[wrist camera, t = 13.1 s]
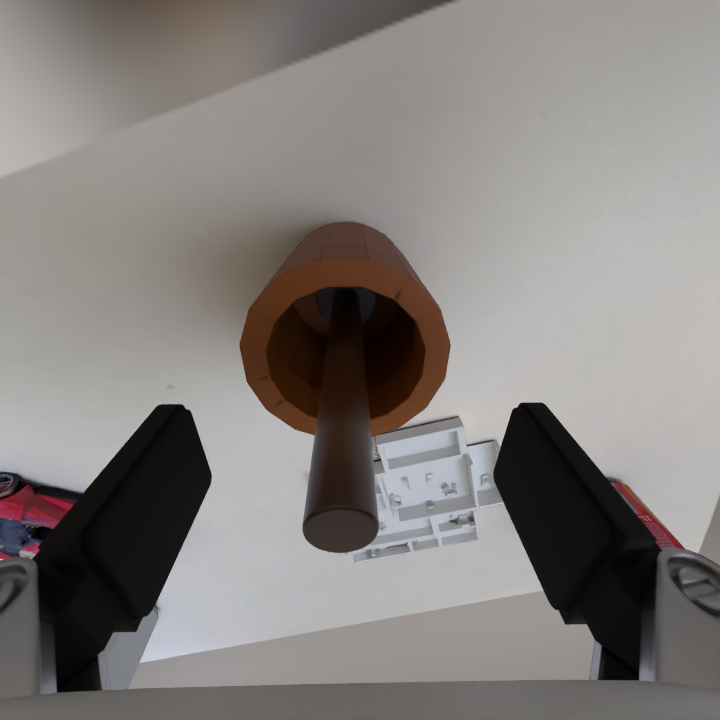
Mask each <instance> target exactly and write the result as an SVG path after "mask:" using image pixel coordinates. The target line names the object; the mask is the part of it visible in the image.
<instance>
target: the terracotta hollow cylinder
mask: <svg viewBox="0 0 720 720" xmlns="http://www.w3.org/2000/svg"><path fill="white" fill-rule="evenodd" d="M326 287H364V288H366V289H369V290H371V291H374V292H375V293H376V307H375V310H374V312H373V314H372V316H371V317H370V318H369V320H368V321H366V322H365V323H364V324H362V331H363V343H364V355H365V366H366V378H367V390H368V402H369V414H370V426H371V437H373V436H376V435H379V434H382V433H385V432H388V431H392V430H395V429H397V427H398V428H399V427H401V426H402V425H403V424H405V423H406V422H408V421H409V420H410V419H412V418H413V417H414V416H416V415H417V414H419V413H420V412H421V411H423V410H424V409H425V408H426V407H427V406H428V404H429V403H430V401H431V400H432V398H433V397H434V395H435V394H436V392H437V391H438V389H439V388H440V386H441V384H442V383H443V381H444V379H445V376H446V370H447V364H448V358H449V352H450V346H451V345H450V340H449V337H448V333H447V330H446V326H445V323H444V320H443V316H442V313H441V310H440V308H439V306H438V304H437V303H436V301H435V300H434V299H433V297H432V296H431V294H430V293H429V291H428V290H427V288H426V287H425V286H424V284H423V283H422V281H421V280H420V278H419V277H418V275H417V274H416V273H415V271H414V270H413V268H412V267H411V265H410V264H409V262H408V261H407V260H406V258H405V257H404V255H403V254H402V253H401V252H400V250H399V249H398V248H397V247H396V246H395V245H394V243H393V242H392V241H391V240H390V239H389V238H388V237H387V236H386V235H385V234H383V233H381V232H379V231H377V230H376V229H374V228H372V227H369V226H366V225H363V224H360V223H350V222H343V223H333V224H330V225H327V226H324V227H322V228H320V229H318V230H316V231H314V232H312V233H310V234H309V235H307V236H306V237H305V238H304V240H303V241H302V242H301V243H300V244H299V245H298V246H297V248H296V249H295V250H294V251H293V252H292V253H291V255H290V256H289V257H288V258H287V260H286V261H285V262H284V264H283V265H282V266H281V268H280V269H279V270H278V271H277V273H276V274H275V275H274V277H273V278H272V279H271V281H270V282H269V283H268V284H267V286H266V287H265V288H264V290H263V291H262V292H261V294H260V295H259V296H258V298H257V299H256V300H255V301H254V303H253V304H252V305H251V307H250V309H249V311H248V314H247V318H246V322H245V326H244V329H243V333H242V337H241V341H240V350H241V355H242V360H243V365H244V370H245V375H246V380H247V383H248V384H249V386H250V387H251V389H252V390H253V391H254V393H255V394H256V396H257V397H258V399H259V400H260V401H261V403H262V404H263V406H264V407H265V408H266V410H268V411H269V412H270V413H272V414H273V415H275V416H276V417H278V418H279V419H281V420H282V421H283V422H285V423H286V424H288V425H289V426H291V427H292V428H294V429H295V430H296V429H297V430H298V431H302V432H305V433H309V434H312V435H315V430H316V423H317V415H318V408H319V401H320V393H321V386H322V378H323V371H324V364H325V356H326V349H327V341H328V334H329V327H330V323H328V322H327V321H326V320H325V319H324V318H323V317H322V316H321V314H320V312H319V310H318V307H317V293H318V291H319V290H321V289H323V288H326Z"/></svg>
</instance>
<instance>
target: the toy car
mask: <svg viewBox="0 0 720 720" xmlns="http://www.w3.org/2000/svg"><path fill="white" fill-rule="evenodd" d="M18 481H23V479H22V478H20V477H19V476H18V475H15V474H9V473H0V559H8V558H12V557H17V556H20V557H29V558H30V559H33V557H34V556H35V555H36V554H37V553H38V551H39V548H38V546H39V545H40V544H41V543H42V542H43V540H44V539H45V538H46V537H47V536H48V534H49V533H50V532H51V531H52V530H53V529H54V527H55V526H56V525H57V524H58V523H59V521H60V520H61V519H62V518H63V517H64V516H65V514H66V513H67V512H68V511H69V510H70V508H71V507H72V506H73V505H74V504H75V503H76V501H77V500H78V499H79V498H80V497H81V495H80V494H77V493H73V492H69V491H65V490H61V489H57V488H51V487H45V486H41V487H39V486H37V485H36V484H35V485H33V486H32V487H31V486H29V485H26V486H25V487H24V488H22V489H21V490H20V491H19V492H17V493H15V494H14V493H13V490H14V489H15V487H16V486H17V483H18ZM34 488H38V489H40V490H38V491H37V493H34V490H33V489H34ZM26 524H34V525H40V526H41V527H38V528H36V527H34V528H32V527H30V526H28V527H27V528H26Z"/></svg>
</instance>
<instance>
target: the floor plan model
mask: <svg viewBox="0 0 720 720" xmlns="http://www.w3.org/2000/svg"><path fill="white" fill-rule="evenodd" d="M482 441H483V440H482ZM376 445H377V448H378V451H379V454H380V457H381V460H382V461H377V462H374V473H375V485H376V497H377V509H378V521H379V531H378V534H377V536H376V538H375V540H374V541H373V542H372V543H371V544H369V545H368V546H366V547H364V548H362V549H360V550H356V551H352V552H347V553H348V555H349V557H350V559H351V561H352V563H353V564H355V563H361V562H366V561H372V560H378V559H384V558H389V557H395V556H400V555H406V554H412V553H416V551H420V550H426V549H431V548H437V547H442V546H448V545H454V544H459V543H465V542H470V541H476V540H479V535H478V528H477V522H476V515H475V510H476V507H479V509H480V508H485V507H490V506H495V505H501V504H504V502H503V500H502V498H501V496H500V493H499V491H498V489H497V487H496V485H495V482H494V478H493V471H494V467H495V464H496V461H497V458H498V454H499V451H500V446H499V444H498V442H497V441H492V442H488V443H483V444H478V445H473V446H468V447H467V445H466V438H465V431H464V425H463V423H462V421H461V419H460V417H459V418H454V419H450V420H445V421H440V422H436V423H431V424H427V425H422V426H418V427H413V428H409V429H404V430H399V431H395V432H390V433H386V434H381V435H377V436H376ZM465 457H466V458H465ZM466 464H467V465H466ZM467 471H468V472H467ZM468 478H469V479H468ZM471 495H472V497H471ZM472 498H473V499H472ZM473 500H474V502H473ZM474 503H475V504H474ZM475 506H476V507H475Z"/></svg>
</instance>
